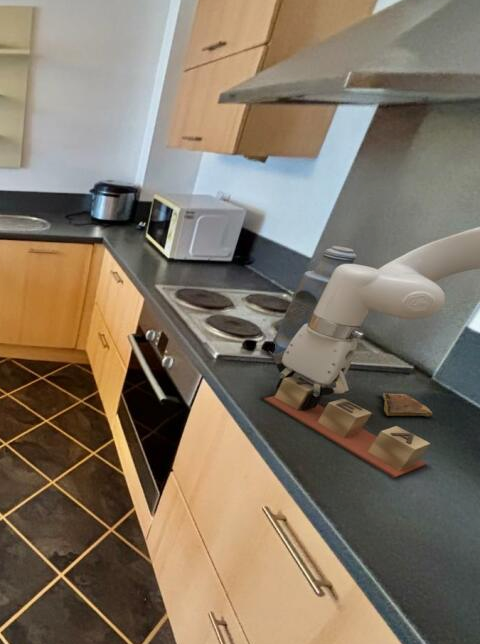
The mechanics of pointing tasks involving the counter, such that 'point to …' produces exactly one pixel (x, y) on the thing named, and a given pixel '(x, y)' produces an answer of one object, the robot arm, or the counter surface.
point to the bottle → (309, 295)
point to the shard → (404, 406)
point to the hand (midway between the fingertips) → (293, 400)
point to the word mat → (353, 443)
